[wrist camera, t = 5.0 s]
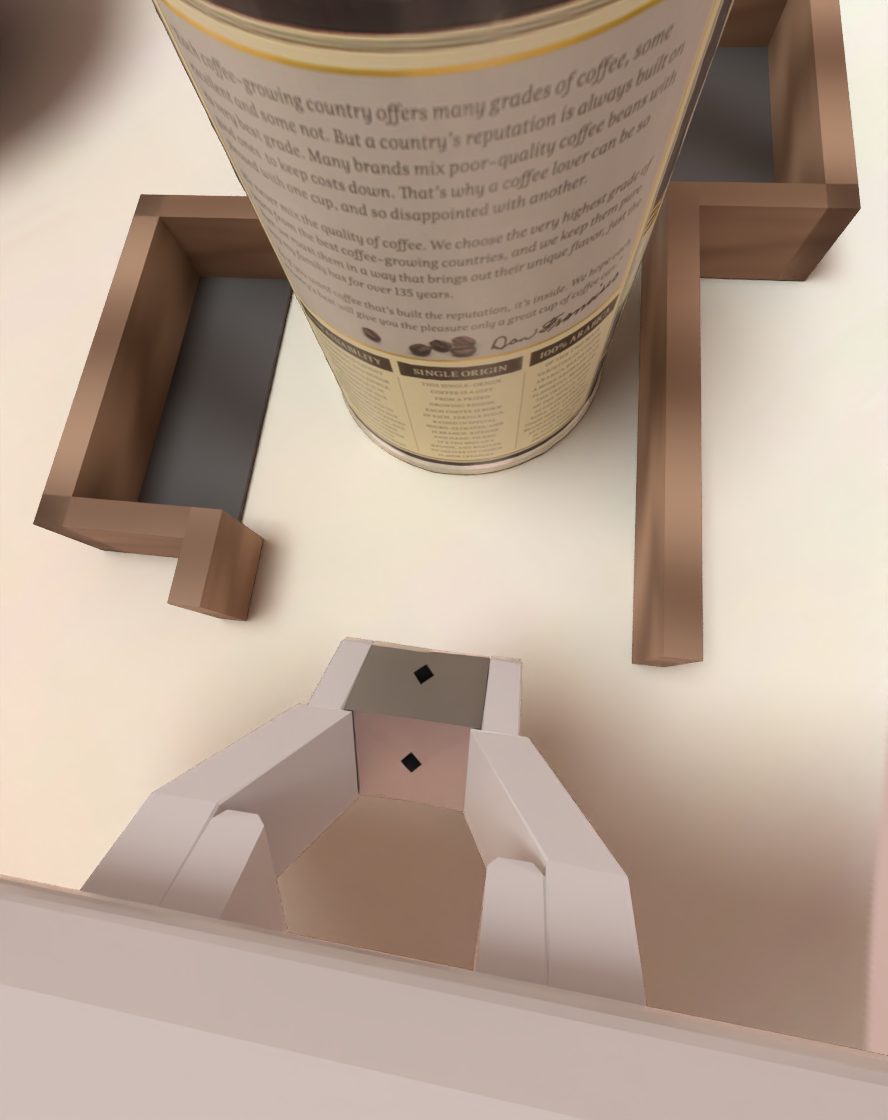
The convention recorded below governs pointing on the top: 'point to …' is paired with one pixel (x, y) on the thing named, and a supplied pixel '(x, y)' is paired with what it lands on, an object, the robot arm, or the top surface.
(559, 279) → the coffee can
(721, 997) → the top surface
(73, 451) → the trap lane
